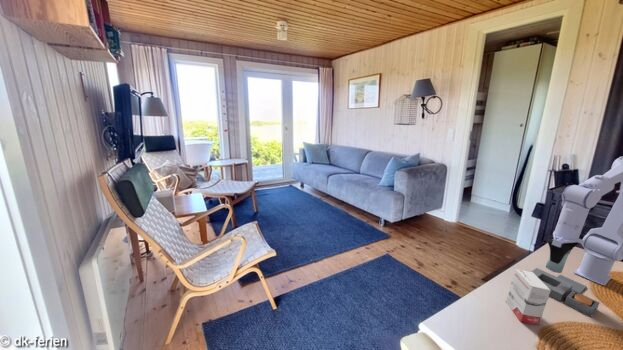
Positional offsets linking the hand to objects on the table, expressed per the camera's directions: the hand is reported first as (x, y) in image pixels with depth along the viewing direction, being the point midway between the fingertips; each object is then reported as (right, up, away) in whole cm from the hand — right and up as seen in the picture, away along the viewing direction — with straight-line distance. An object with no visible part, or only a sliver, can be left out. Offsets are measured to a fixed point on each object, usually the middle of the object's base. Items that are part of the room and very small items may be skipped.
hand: (557, 260), depth 86 cm
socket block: (-1, -10, +3) cm, 10 cm away
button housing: (+2, -12, -6) cm, 14 cm away
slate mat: (+8, -10, +4) cm, 14 cm away
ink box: (-19, -13, -9) cm, 25 cm away
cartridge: (0, -3, +1) cm, 4 cm away
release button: (+2, -12, -6) cm, 13 cm away
